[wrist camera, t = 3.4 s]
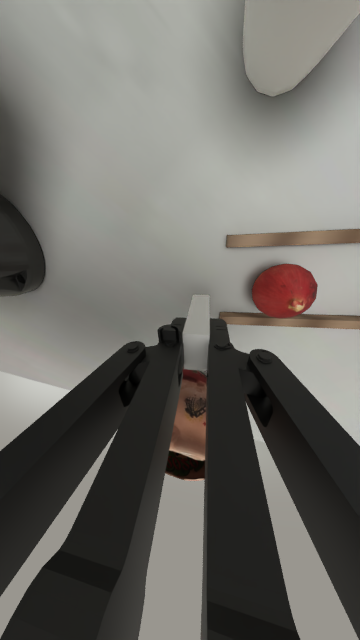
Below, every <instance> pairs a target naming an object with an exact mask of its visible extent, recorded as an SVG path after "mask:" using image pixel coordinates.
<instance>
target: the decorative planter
mask: <svg viewBox="0 0 360 640" xmlns="http://www.w3.org/2000/svg"><path fill="white" fill-rule="evenodd" d="M206 383H207V377H206V376H205V375H204V374H202V373H201V372H199V371H198V370H188V369H184V366H183V378H182V384H181V389H180V394H179V400H178V405H177V411H176V416H175V422H174V427H173V432H172V438H171V443H170V449H169V454H168V459H167V465H166V470H165V473H166V474H168V475H170V476H173V477H176V478H179V479H183V480H188V481H199V480H205V440H206V392H207V387H206Z"/></svg>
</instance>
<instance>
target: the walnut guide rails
mask: <svg viewBox="0 0 360 640" xmlns="http://www.w3.org/2000/svg"><path fill="white" fill-rule="evenodd" d="M334 243H360V229H349V230H328V231H307V232H287V233H266V234H246V235H227V241H226V247H252V246H280V245H307V244H334ZM219 319H223V320H224V321H225V322H226V324H237V325H262V326H288V327H313V328H338V329H360V316H345V315H309V314H299V315H297V316H294V317H291V318H282V319H281V318H275V317H270V316H267V315H266V314H264V313H236V312H220V317H219Z"/></svg>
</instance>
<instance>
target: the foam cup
mask: <svg viewBox="0 0 360 640" xmlns="http://www.w3.org/2000/svg"><path fill="white" fill-rule="evenodd" d="M359 13H360V0H245V13H244V29H243V48H242V49H243V56H244V63H245V70H246V76H247V77H248V79H249V80H250V82H251V83H252V85H253V86H254V88H255V89H256V91H257V92H260V93H263V94H266V95H269V96H272V97H274V96H277V95H279V94H282V93H285V92H287V91H290V90H292V89H293V88H294V87H295V86H296V85H297V84H298V83H300V82H301V81H302V80H303V79H304V78H305V77H306V76H307V75H308V74H309V73H310V72H311V71H312V69H313V68H314V67H315V66H316V65H317V64H318V63H319V62H320V60H321V59H322V58H323V57H324V56H325V54H326V53H327V52H328V51H329V50H330V48H331V47H332V46H333V45H334V44H335V42H336V41H337V40H338V39H339V38H340V36H341V35H342V34H343V33H344V32H345V30H346V29H347V28H348V27H349V25H350V24H351V23H352V22H353V21H354V19H355V18H356V17H357V16H358V15H359Z"/></svg>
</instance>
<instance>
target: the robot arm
mask: <svg viewBox="0 0 360 640" xmlns="http://www.w3.org/2000/svg"><path fill="white" fill-rule="evenodd" d="M44 270H45V267H44V259H43V255H42V251H41V248H40V246H39V243H38V241H37V239H36V237H35V235H34V233H33V231H32V230H31V228H30V227H29V225H28V223H27V222H26V221H25V219H24V218H23V217H22V215H21V214H20V213H19V212H18V211H17V210H16V208H15V207H14V206H13V205H12V204H11V203H10V202H9V201H7V200H6V199H5V198H4V197H3V196H2V195H0V296H15V295H20V294H23V293H26V292H29V291H32V290H34V289H36V288H37V287H38V286H39V285H40V284H41V282H42V280H43V277H44ZM158 337H159V343H158V345H156V346H150V347H145V345H144V344H143V343H142V342H139V341H134V342H130V343H127V344H126V345H124V346H123V347H122V348H120V349H119V350H118V351H117V352H116V353H115V354H113V355H112V356H111V357H110V358H109V359H108V360H106V361H105V362H104V363H103V364H102V365H101V366H99V367H98V368H97V369H96V370H95V371H94V372H92V373H91V374H90V375H89V376H88V377H87V378H85V379H84V380H83V381H82V382H81V383H79V384H78V385H77V386H76V387H75V388H74V389H72V390H71V391H70V392H69V393H68V394H67V395H65V396H64V397H63V398H62V399H61V400H60V401H58V402H57V403H56V404H55V405H54V406H53V407H51V408H50V409H49V410H48V411H47V412H46V413H45V414H43V415H42V416H41V417H40V418H39V419H37V420H36V421H35V422H34V423H33V424H32V425H30V427H28V428H27V429H26V430H24V431H23V432H22V433H21V434H20V435H19V436H17V438H15V439H14V440H13V441H12V442H10V443H9V444H8V445H7V446H6V447H5V448H3V449H2V450H1V451H0V596H1V595H2V594H3V592H4V591H5V589H6V588H7V586H8V585H9V584H10V582H11V580H12V579H13V578H14V576H15V575H16V574H17V572H18V571H19V569H20V568H21V566H22V565H23V563H24V562H25V561H26V559H27V558H28V556H29V555H30V554H31V552H32V551H33V549H34V548H35V546H36V545H37V544H38V542H39V541H40V539H41V538H42V536H43V535H44V534H45V532H46V531H47V529H48V528H49V526H50V525H51V524H52V522H53V521H54V519H55V518H56V516H57V515H58V514H59V512H60V511H61V509H62V508H63V506H64V505H65V504H66V502H67V501H68V499H69V498H70V497H71V495H72V494H73V492H74V491H75V489H76V488H77V487H78V485H79V484H80V482H81V481H82V479H83V478H84V477H85V475H86V474H87V472H88V471H89V469H90V468H91V467H92V465H93V464H94V462H95V461H96V459H97V458H98V457H99V455H100V454H101V452H102V451H103V449H104V448H105V447H106V445H107V444H108V442H109V441H110V439H111V438H112V437H113V435H114V434H115V432H116V431H117V429H118V431H117V433H116V435H115V437H114V439H113V441H112V443H111V445H110V448H109V450H108V452H107V454H106V456H105V458H104V461H103V463H102V465H101V467H100V469H99V471H98V474H97V475H96V478H95V480H94V482H93V484H92V486H91V488H90V490H89V492H88V494H87V497H86V499H85V501H84V503H83V505H82V507H81V510H80V512H79V514H78V516H77V518H76V520H75V522H74V524H73V526H72V529H71V531H70V532H69V534H68V536H67V538H66V540H65V542H64V543H63V545H62V546H61V548H60V549H59V550H58V551H57V552H56V553H55V555H54V556H53V557H52V558H51V559H50V560H49V561H48V562H47V563H46V564H45V565H44V566H43V567H42V569H41V570H40V572H39V573H38V574H37V576H36V577H35V579H34V580H33V581H32V583H31V585H30V586H29V587H28V589H27V591H26V592H25V594H24V596H23V598H22V600H21V601H20V603H19V605H18V606H17V608H16V610H15V612H14V614H13V616H12V617H11V619H10V621H9V623H8V625H7V627H6V629H5V631H4V633H3V635H2V636H1V639H0V640H138V636H139V631H140V624H141V618H142V612H143V605H144V597H145V584H146V575H147V568H148V562H149V557H150V551H151V546H152V541H153V535H154V530H155V524H156V519H157V513H158V508H159V503H160V497H161V492H162V486H163V480H164V476H165V470H166V465H167V459H168V454H169V449H170V443H171V438H172V432H173V427H174V422H175V416H176V411H177V405H178V400H179V394H180V389H181V384H182V378H183V366H184V369H188V370H199V371H207V383H206V387H207V392H206V440H205V489H204V536H203V583H202V614H201V640H300V638H299V635H298V633H297V630H296V626H295V623H294V620H293V617H292V613H291V609H290V605H289V601H288V596H287V592H286V587H285V583H284V579H283V573H282V569H281V564H280V559H279V555H278V551H277V546H276V541H275V536H274V531H273V527H272V522H271V518H270V513H269V508H268V504H267V499H266V494H265V490H264V485H263V481H262V476H261V472H260V467H259V462H258V457H257V453H256V449H255V444H254V439H253V434H252V430H251V425H250V420H249V416H248V411H247V406H246V403H247V405H248V407H249V409H250V412H251V414H252V416H253V418H254V420H255V422H256V424H257V426H258V428H259V430H260V433H261V435H262V437H263V439H264V441H265V443H266V445H267V447H268V449H269V451H270V454H271V456H272V458H273V460H274V462H275V464H276V466H277V468H278V470H279V472H280V474H281V477H282V479H283V481H284V483H285V485H286V487H287V489H288V491H289V493H290V496H291V498H292V500H293V501H294V504H295V506H296V508H297V510H298V512H299V514H300V516H301V518H302V521H303V523H304V525H305V527H306V529H307V531H308V533H309V535H310V537H311V540H312V542H313V544H314V546H315V548H316V550H317V552H318V554H319V556H320V558H321V561H322V563H323V565H324V567H325V569H326V571H327V573H328V575H329V577H330V580H331V581H332V584H333V586H334V588H335V590H336V592H337V594H338V596H339V598H340V600H341V603H342V605H343V607H344V609H345V611H346V613H347V615H348V617H349V619H350V622H351V623H352V626H353V628H354V630H355V632H356V634H357V636H358V638H359V640H360V446H359V445H358V444H357V443H356V442H355V441H354V439H353V438H352V437H351V436H350V435H349V434H348V433H347V432H346V431H345V430H344V429H343V428H342V426H341V425H340V424H339V423H338V422H337V421H336V420H335V419H334V418H333V417H332V416H331V415H330V413H329V412H328V411H327V410H326V409H325V408H324V407H323V406H322V405H321V404H320V403H319V401H318V400H317V399H316V398H315V397H314V396H313V395H312V394H311V393H310V392H309V391H308V390H307V388H306V387H305V386H304V385H303V384H302V383H301V382H300V381H299V380H298V379H297V378H296V377H295V375H294V374H293V373H292V372H291V371H290V370H289V369H288V368H287V367H286V366H285V365H284V364H283V362H282V361H281V360H280V359H279V358H278V357H277V356H276V355H274V354H273V353H271V352H269V351H267V350H263V349H255V350H252V351H251V352H250V354H247V353H243V352H240V351H238V350H236V349H235V348H234V347H233V345H232V343H230V339H229V334H228V329H227V324H226V322H225V321H224V320H223V319H212V318H210V295H193V297H192V301H191V304H190V308H189V312H188V315H187V318H175V319H174V320H173V321H172V323H171V325H164V326H162V327H160V328H159V329H158ZM245 401H246V402H245Z"/></svg>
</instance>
